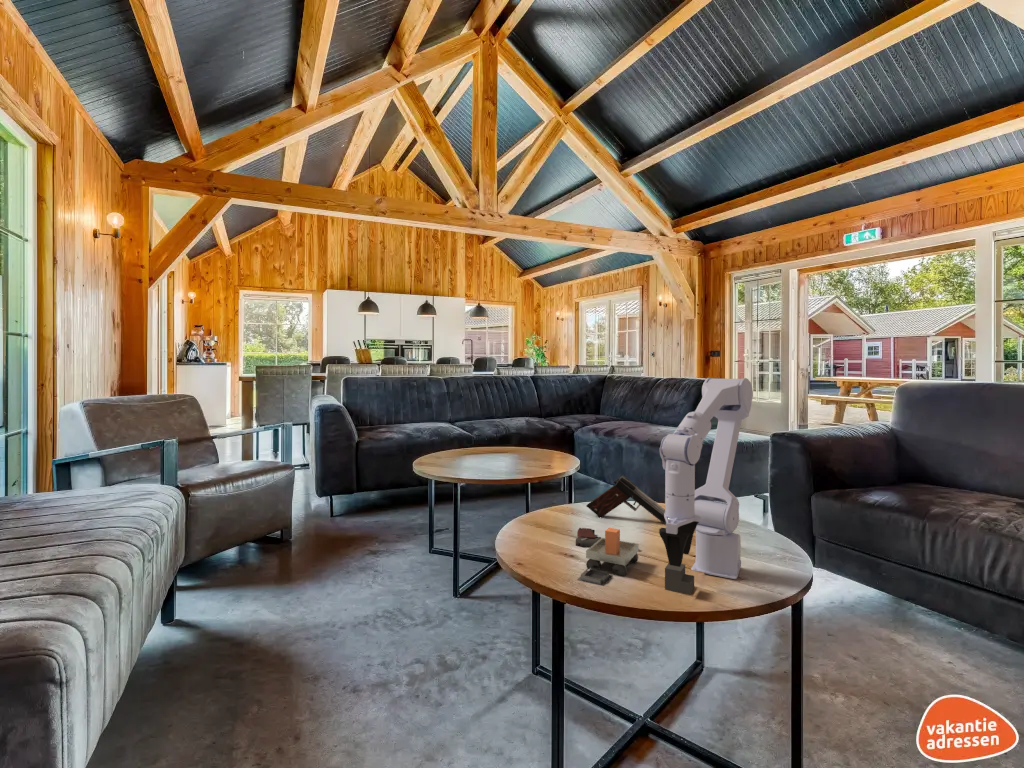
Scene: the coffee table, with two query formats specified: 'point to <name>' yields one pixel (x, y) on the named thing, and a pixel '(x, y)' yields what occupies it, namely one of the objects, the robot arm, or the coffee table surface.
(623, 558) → the trolley
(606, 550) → the orange rectangular block
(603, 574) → the socket
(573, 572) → the coffee table surface
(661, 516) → the handgun
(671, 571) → the block
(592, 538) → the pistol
